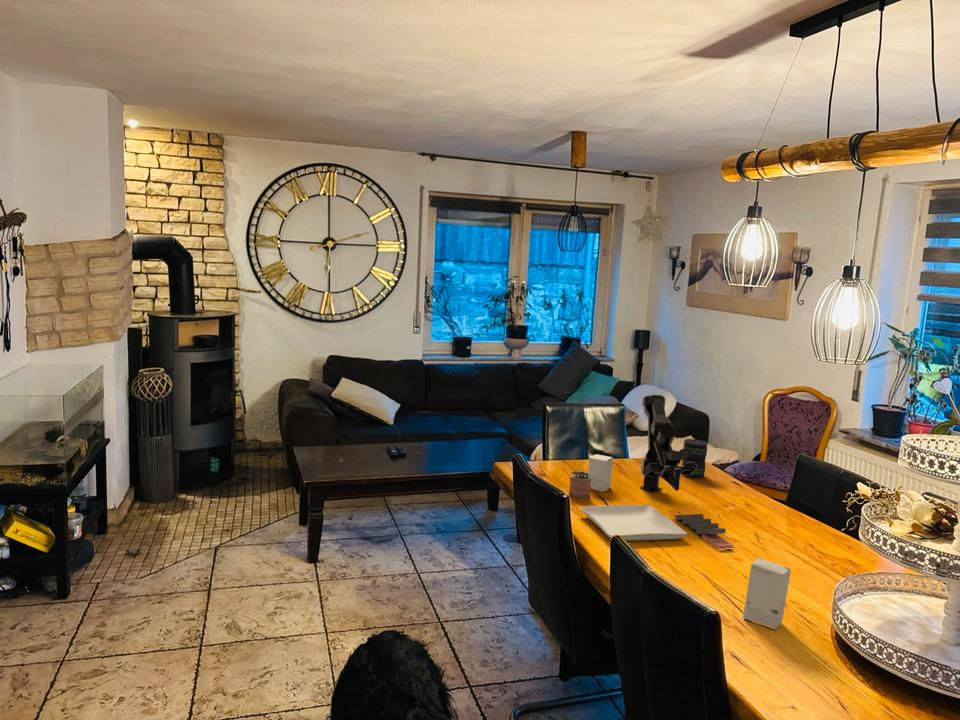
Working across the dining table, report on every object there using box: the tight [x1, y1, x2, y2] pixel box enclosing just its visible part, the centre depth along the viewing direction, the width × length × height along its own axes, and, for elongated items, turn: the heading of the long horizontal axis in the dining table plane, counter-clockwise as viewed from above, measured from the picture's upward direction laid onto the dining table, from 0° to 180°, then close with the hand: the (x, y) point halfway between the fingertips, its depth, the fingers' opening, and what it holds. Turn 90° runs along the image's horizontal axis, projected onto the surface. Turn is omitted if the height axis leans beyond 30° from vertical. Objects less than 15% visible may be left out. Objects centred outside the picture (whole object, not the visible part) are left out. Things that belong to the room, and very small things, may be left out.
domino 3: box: [688, 522, 720, 530], centre depth 234 cm, size 2×5×10 cm
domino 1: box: [674, 513, 705, 521], centre depth 243 cm, size 2×5×10 cm
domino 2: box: [681, 518, 712, 525], centre depth 239 cm, size 2×5×10 cm
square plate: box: [579, 504, 688, 542], centre depth 236 cm, size 27×27×4 cm
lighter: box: [568, 470, 592, 499], centre depth 266 cm, size 8×3×10 cm, turn 84°
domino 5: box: [701, 534, 734, 549], centre depth 226 cm, size 2×5×10 cm
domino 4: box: [694, 527, 727, 535], centre depth 230 cm, size 2×5×10 cm
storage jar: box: [680, 438, 708, 480], centre depth 303 cm, size 10×10×15 cm
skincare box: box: [742, 557, 792, 630], centre depth 175 cm, size 8×6×15 cm
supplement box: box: [587, 453, 614, 493], centre depth 278 cm, size 7×7×13 cm
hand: (677, 490), depth 251 cm, fingers closed
